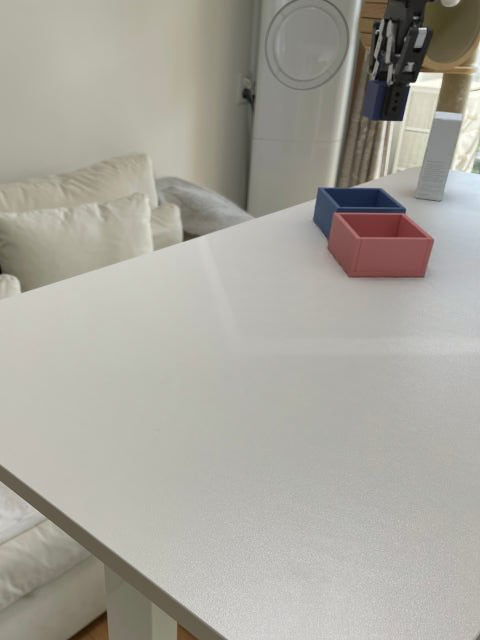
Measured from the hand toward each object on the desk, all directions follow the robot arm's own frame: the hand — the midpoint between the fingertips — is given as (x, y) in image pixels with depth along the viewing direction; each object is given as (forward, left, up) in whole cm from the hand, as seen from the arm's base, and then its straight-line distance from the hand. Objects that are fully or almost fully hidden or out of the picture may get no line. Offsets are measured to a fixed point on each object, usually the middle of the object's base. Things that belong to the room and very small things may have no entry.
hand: (382, 115), depth 83 cm
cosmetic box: (-17, -17, -15) cm, 28 cm away
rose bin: (+2, +12, -15) cm, 19 cm away
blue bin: (+1, +1, -15) cm, 15 cm away
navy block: (0, 0, 0) cm, 0 cm away
